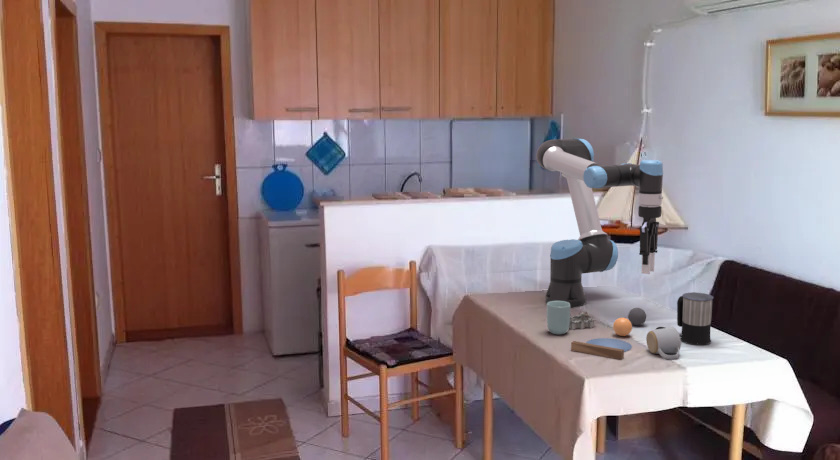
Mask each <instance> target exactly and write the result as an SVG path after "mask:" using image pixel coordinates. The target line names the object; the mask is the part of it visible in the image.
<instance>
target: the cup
mask: <svg viewBox="0 0 840 460" xmlns="http://www.w3.org/2000/svg"><path fill="white" fill-rule="evenodd" d="M570 317H571V307H570V303H569V302H566V301H550V302H548V303H546V325H547V326H546V327H547V330H548V332H550V333H551V334H553V335H564V334H566V333H567V332H568V331H569V330H570V329H569V325H570Z"/></svg>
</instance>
